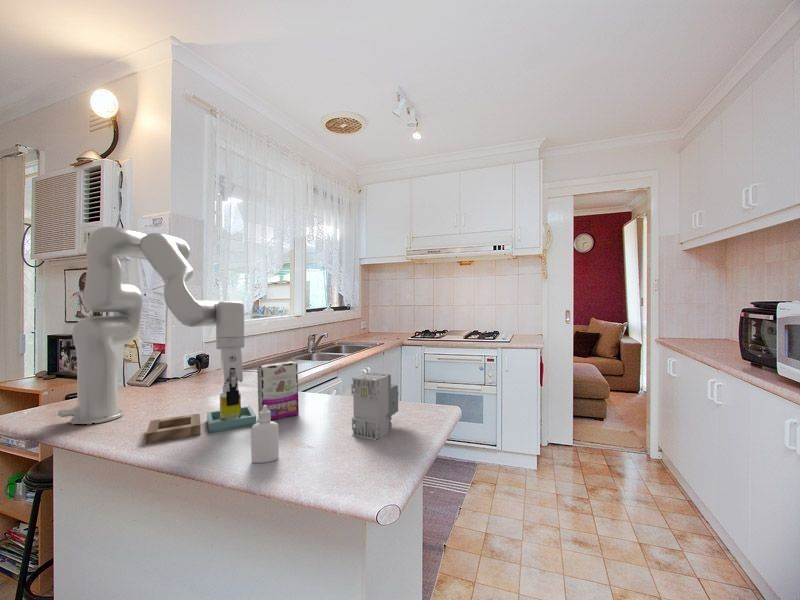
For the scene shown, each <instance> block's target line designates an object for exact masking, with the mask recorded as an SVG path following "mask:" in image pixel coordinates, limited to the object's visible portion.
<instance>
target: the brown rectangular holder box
mask: <svg viewBox="0 0 800 600" xmlns="http://www.w3.org/2000/svg"><path fill="white" fill-rule="evenodd" d="M147 426H148V427H147V430H146V432H145V444H146V445H148V444H152V443H153V444H155V443H157V442H164V441H170V440H176V438H177V439H181V437H182V438H188V437H193V436H199V435H201V429H202V428H201V414H200V413H194V414H188V415H180V416H172V417H167V418H166V417H165V418H161V419H153V420H150V421H149V424H148V425H147ZM187 436H188V437H187Z"/></svg>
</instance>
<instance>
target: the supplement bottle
mask: <svg viewBox="0 0 800 600" xmlns="http://www.w3.org/2000/svg"><path fill="white" fill-rule="evenodd" d="M226 392H227V385H225V386H224V385H223V386H222V392H221V393H219V411H220V421H222V420H228V419H235V418H241V403H242V402H241V397H242V396H241V391H240V390H239V404H238V405H232V406H227V405H226Z"/></svg>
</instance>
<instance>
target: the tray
mask: <svg viewBox="0 0 800 600" xmlns="http://www.w3.org/2000/svg"><path fill="white" fill-rule="evenodd" d="M206 416H207V417H206V421H207V429H208V433H209V434H210V433H216V432H223V431H229V430H233V429H240V428H246V427H250V426H251V427H252V426H253V425H254V424H256V423H257V415H256V413H255V412H254V410H253V409H252V406H251V405H248V406H247V405H246V406H242V407H241V418H235V419H228V420H222V421H220V410H215V411H209V412H207V413H206Z"/></svg>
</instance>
